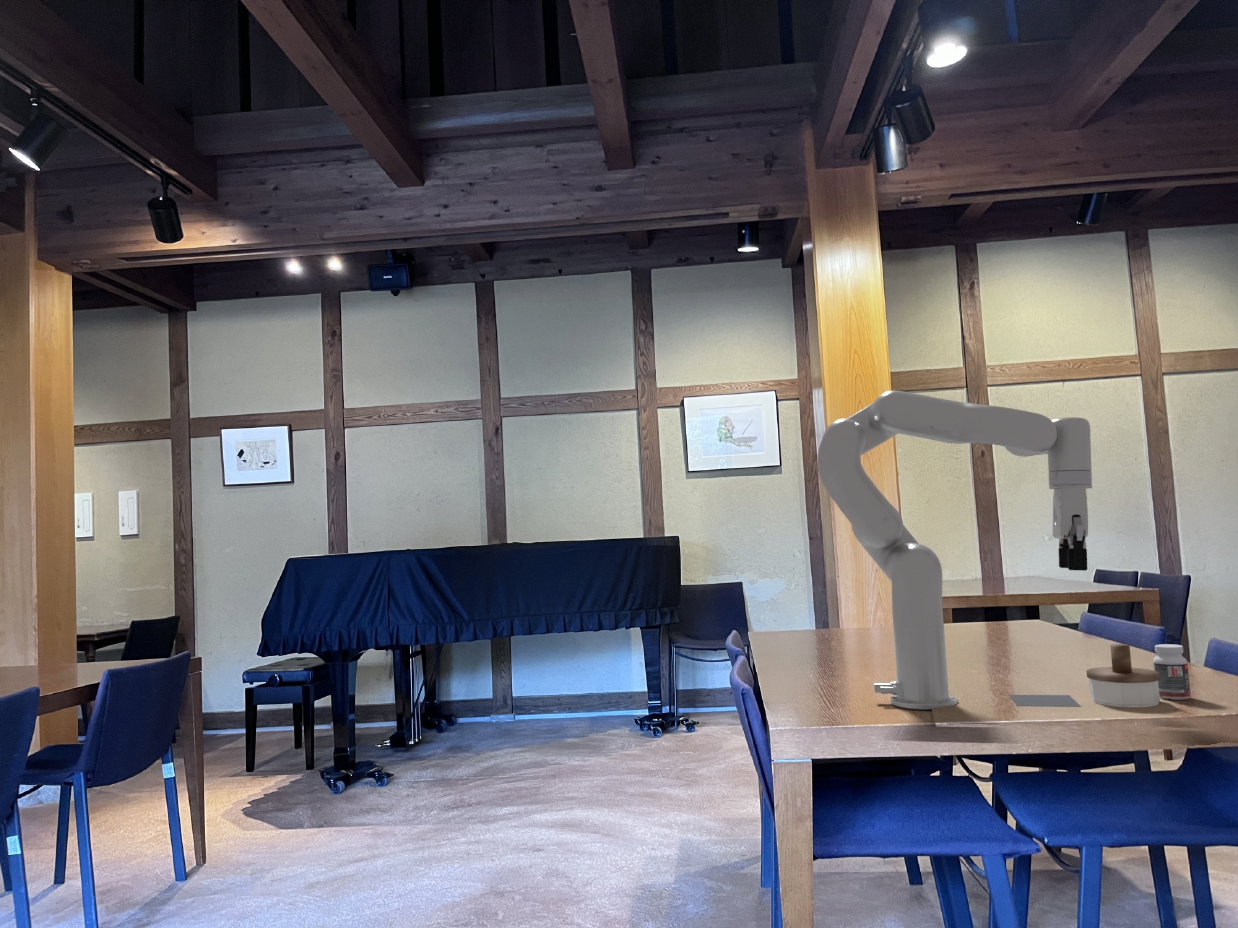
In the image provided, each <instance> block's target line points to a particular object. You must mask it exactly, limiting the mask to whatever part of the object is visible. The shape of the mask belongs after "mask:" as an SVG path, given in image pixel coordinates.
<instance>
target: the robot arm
mask: <svg viewBox="0 0 1238 928" xmlns="http://www.w3.org/2000/svg"><path fill="white" fill-rule="evenodd" d="M898 434H901V435H906V436H909V437H915V438H916V437H917V438H922V439H927V440H932V441H935V442H941V443H944V444H945V443H946V444H956V445H957V444H958V445H959V444H960V445H963V444H964V445H965V444H984V445H985V444H986V445H987V444H988V445H995V446H1001V447H1004V448H1005V449H1006V451H1008V452H1009V453H1010V454H1012V455H1014V456H1017V457H1022V458H1023V457H1024V458H1025V457H1034V456H1040V455H1041V456H1042V455H1047V463H1048V466H1047V467H1048V489H1050V490H1053V498H1052V536H1053V538H1055V539H1058V567H1059V568H1061V569H1068V570H1069V571H1083V572H1084V571H1085V572H1086V571H1087V570H1088V549H1087V543H1086V542H1087V541H1086V538H1088V536H1089V514H1088V511H1089V510H1088V495H1087V489H1092V488H1093V482H1092V481H1093V480H1092V479H1093V477H1092V475H1093V474H1092V473H1093V472H1092V448H1091V447H1092V445H1091V443H1092V442H1091V425H1090V422H1089V420H1088V419H1086V418H1084V417H1076V416H1074V417H1073V416H1071V417H1059V418H1055V419H1051V418H1049V417H1048V416H1045V414H1044V415H1043V414H1042V413H1036V412H1032V411H1027V410H1022V409H1015V408H1012V407H1005V406H997V405H988V404H987V405H986V404H980V403H974V402H963V401H957V400H951V399H945V398H938V397H934V396H930V395H925V394H924V395H923V394H918V393H914V392H909V391H908V392H907V391H902V390H888V391H885V392H883V393H882V394H880V395H879V396H878V397H877V398H876V399H875V401H873V402H871V403H870V404H869V405H867V406H866V407H864V408H863V409H861V410H859V411H857V412H856V413H854V414H852V415H851V416H849V417H847V418H839V419H837V420H834V421H832V422H831V423H830V424H829V425H828V426H827V428H826V429H825V431H824V433H823V436H822V438H821V441H820V444H819V447H818V451H817V469H818V473H819V478H820V480H821V484H822V485H823V487H824V489H825V490H826V492H827V494H828V495H829V496H830V498H831V499H832V501H833V502H834V503H835V504H836V506H837V507H838V509H840V512H841V513H842V514H843V515H844V516H845V517H846V519H847V520H848V521H849V523H850V524H851V529H852V532H853V535H854V537H855V538H856V539H857V541H858V542H859V544H860V545H861V546H862V547H863V549H864V550H865V552H866V553H868V555H869V556H870V557H871V559H872V560H873V561H874V562H875V563H876V565H877V566H878V567H879V568H880V569H881V571H882V572H883V574H885V576H886V577H887V578H888V579H889V581H890V582H891V601H892V602H891V609H892V624H893V637H894V652H895V667H896V678H895V681H890V683H883V682H879V683H878V682H874V683H873V685H874V687H873V688H874V693H876V694H880V695H885V694H891V695H892V696H891V697H890V704H891V705H893V706H895V707H898V708H902V709H909V710H922V711H923V710H925V711H926V710H927V711H929V710H931V711H932V709H937V708H938V709H939V708H947V707H948V708H949V707H952V706H956V705H957V704H958V703H959V699H958V698H957V696H955V695H951V694H950V691H949V690H950V689H949V678H948V664H947V650H946V637H945V623H944V612H943V611H944V610H943V570H942V569H943V568H942V564H941V561H940V559H939V557H938V555H937V554H936V552H934V551H933V550H932V549H931V548H930V547H928V546H926V545H924V544H921V543H919V542H918V541H917V539H916V538H915V537H914V536H913V535H912V533H911V532H910V531H909V530H908V529H907V528H906V526H905V525H904V521H903V518H902V516H901V513H900V512H899V510H898V509H897V508H896V507H894V506H893V505H892V504H891V503H890V501H889V500H888V499H887V498H886V497H885V496H884V495H883V493H882V492H881V491H880V489H879V488H878V487H877V485H875V483H874V482H873V481H872V479H871V478H870V477H869V475H868V474H867V472H866V471H865V469H864V467H863V466H862V459H861V456H862V455H864V454H866V453H868V452H869V451H872V450H873V449H875V448H877V447H878V446H880V445H882V444H883V443H886V442H887V441H888V440H890V439H892V438H894V437H895V436H897V435H898Z"/></svg>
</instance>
